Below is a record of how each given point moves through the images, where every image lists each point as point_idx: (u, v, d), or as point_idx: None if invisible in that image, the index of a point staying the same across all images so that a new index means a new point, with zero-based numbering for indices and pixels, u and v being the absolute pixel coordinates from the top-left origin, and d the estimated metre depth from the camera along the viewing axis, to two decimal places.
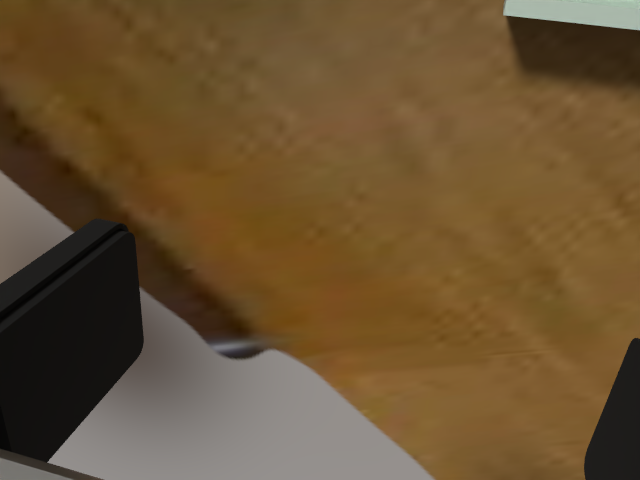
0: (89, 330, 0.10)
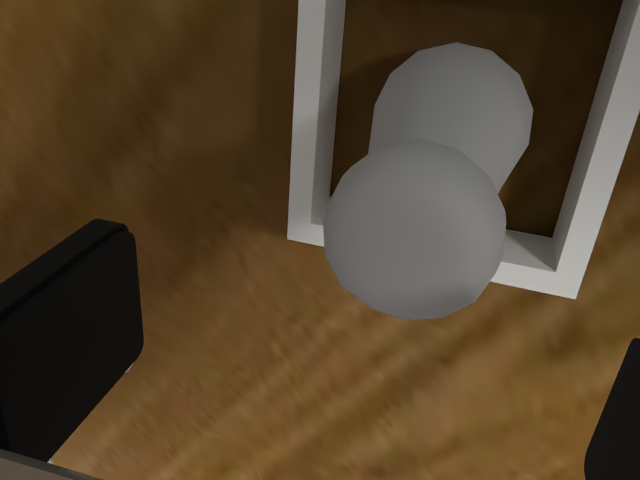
0: (89, 330, 0.10)
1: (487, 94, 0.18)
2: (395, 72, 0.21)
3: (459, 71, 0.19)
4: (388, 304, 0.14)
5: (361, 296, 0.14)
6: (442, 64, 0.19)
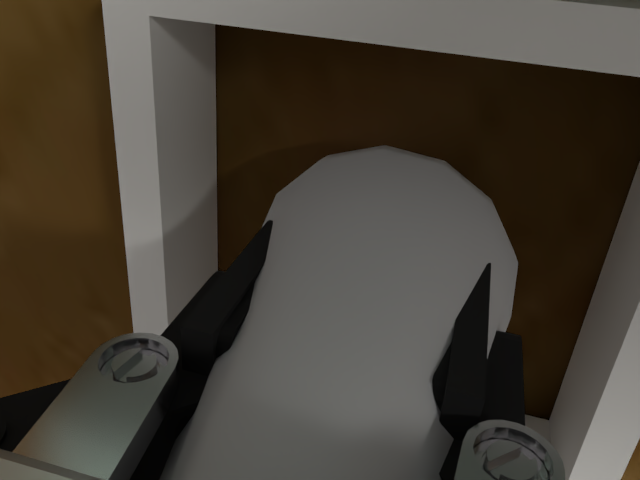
0: None
1: (427, 277, 0.09)
2: (281, 195, 0.12)
3: (378, 221, 0.10)
4: None
5: None
6: (350, 203, 0.10)
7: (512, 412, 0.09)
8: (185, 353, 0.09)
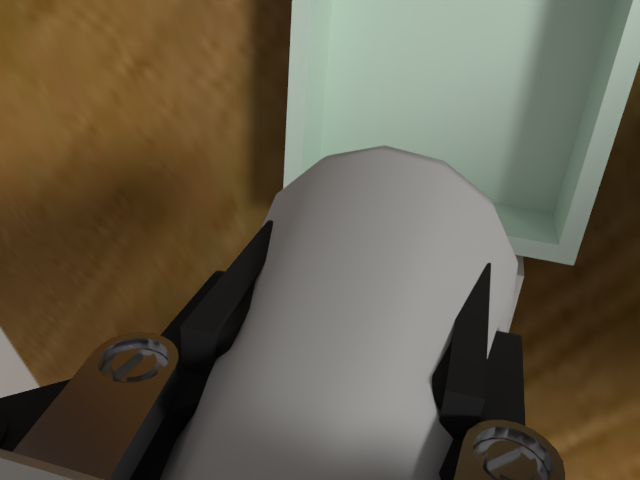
0: None
1: (427, 277, 0.09)
2: (281, 196, 0.12)
3: (378, 222, 0.10)
4: None
5: None
6: (349, 203, 0.10)
7: (512, 412, 0.09)
8: (185, 353, 0.09)
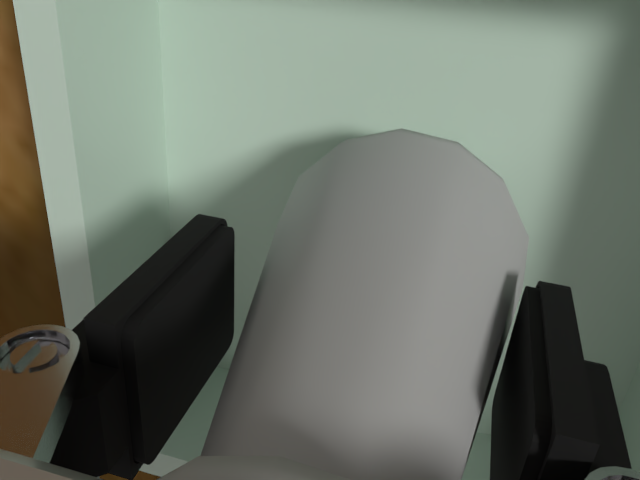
0: (199, 320, 0.11)
1: (449, 242, 0.10)
2: (304, 177, 0.13)
3: (402, 194, 0.11)
4: None
5: None
6: (374, 178, 0.11)
7: (616, 453, 0.08)
8: (90, 345, 0.09)
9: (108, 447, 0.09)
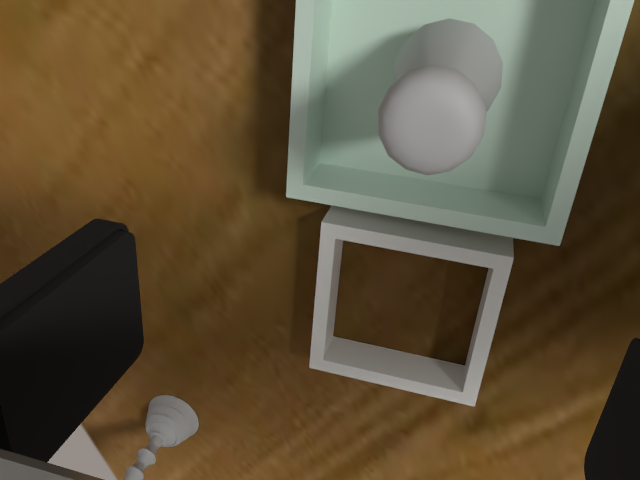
0: (89, 330, 0.10)
1: (471, 48, 0.28)
2: (408, 39, 0.31)
3: (453, 34, 0.29)
4: (418, 162, 0.24)
5: (401, 159, 0.24)
6: (442, 30, 0.29)
7: None
8: None
9: None
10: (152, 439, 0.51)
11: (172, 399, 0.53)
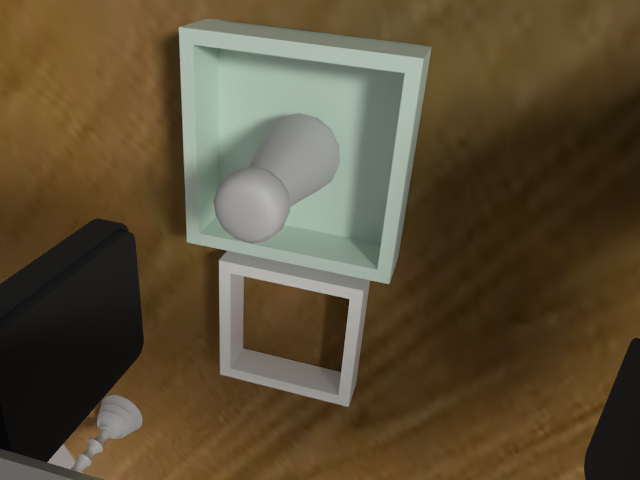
0: (89, 330, 0.10)
1: (302, 142, 0.38)
2: (268, 128, 0.41)
3: (292, 130, 0.39)
4: (241, 235, 0.34)
5: (230, 232, 0.34)
6: (285, 126, 0.39)
7: None
8: None
9: None
10: (101, 432, 0.62)
11: (119, 398, 0.63)
